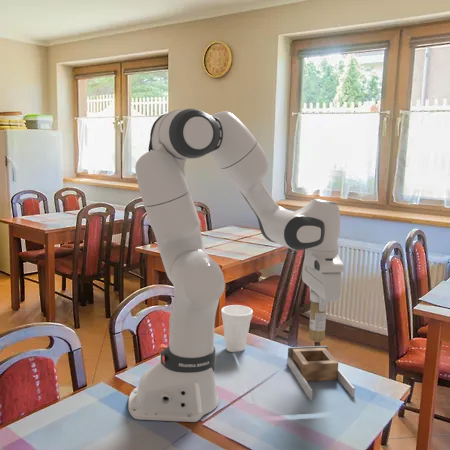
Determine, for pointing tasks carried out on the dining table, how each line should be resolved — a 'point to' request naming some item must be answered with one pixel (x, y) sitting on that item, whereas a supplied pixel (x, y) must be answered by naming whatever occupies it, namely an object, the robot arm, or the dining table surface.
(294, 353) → the crate
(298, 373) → the bay
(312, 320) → the sprinkles bottle
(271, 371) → the dining table surface
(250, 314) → the cup
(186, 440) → the dining table surface
